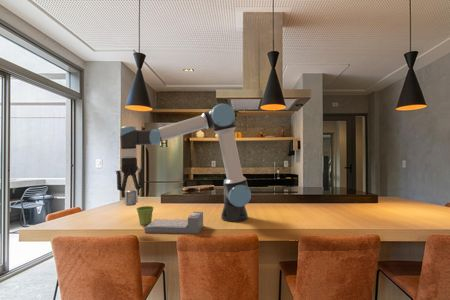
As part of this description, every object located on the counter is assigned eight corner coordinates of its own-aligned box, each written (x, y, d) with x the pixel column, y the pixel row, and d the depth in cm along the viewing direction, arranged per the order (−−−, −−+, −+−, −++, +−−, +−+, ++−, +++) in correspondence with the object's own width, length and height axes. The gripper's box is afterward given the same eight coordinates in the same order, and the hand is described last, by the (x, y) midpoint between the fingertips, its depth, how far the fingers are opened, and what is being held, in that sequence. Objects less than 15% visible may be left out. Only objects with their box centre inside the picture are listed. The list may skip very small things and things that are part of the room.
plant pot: (151, 225, 167) (151, 209, 167) (134, 226, 168) (134, 210, 167) (156, 221, 177) (155, 205, 176) (139, 221, 177) (139, 206, 177)
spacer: (137, 203, 160) (137, 190, 160) (133, 205, 155) (132, 191, 155) (128, 203, 161) (127, 190, 160) (123, 205, 156) (123, 191, 156)
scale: (203, 226, 165) (202, 210, 165) (198, 233, 152) (197, 217, 152) (154, 225, 168) (153, 210, 168) (145, 232, 156) (144, 216, 155)
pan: (191, 221, 165) (191, 219, 165) (186, 227, 153) (186, 226, 153) (155, 220, 168) (155, 219, 168) (147, 227, 156) (147, 225, 156)
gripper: (143, 155, 165) (144, 199, 166) (108, 157, 154) (110, 204, 155) (149, 156, 160) (150, 201, 160) (113, 158, 149) (115, 206, 149)
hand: (130, 202), depth 158 cm, fingers closed on spacer, 5 cm apart
